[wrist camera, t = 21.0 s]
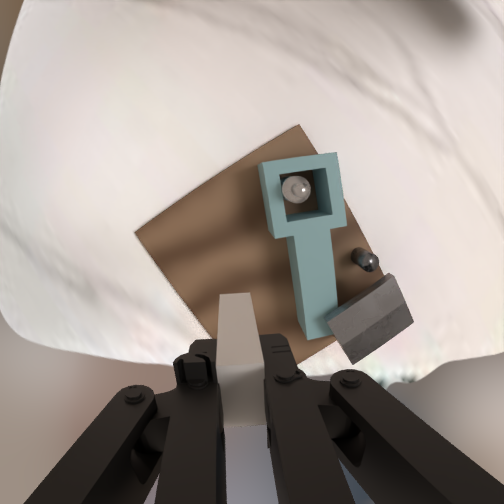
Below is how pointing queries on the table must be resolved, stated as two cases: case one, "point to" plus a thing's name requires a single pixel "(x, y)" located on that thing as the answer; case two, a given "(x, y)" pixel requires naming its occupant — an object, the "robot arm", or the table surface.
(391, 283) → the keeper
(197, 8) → the table surface
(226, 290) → the board
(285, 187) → the peg
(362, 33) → the table surface
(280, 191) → the link
